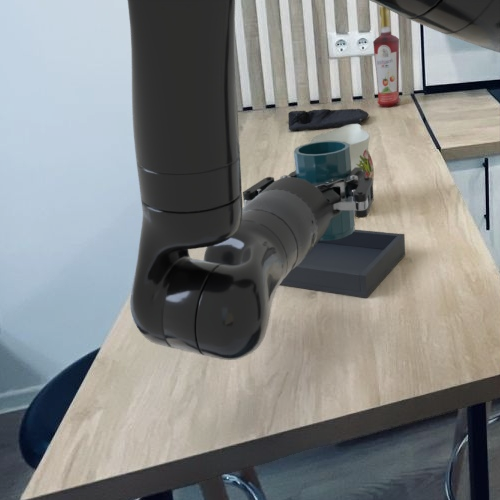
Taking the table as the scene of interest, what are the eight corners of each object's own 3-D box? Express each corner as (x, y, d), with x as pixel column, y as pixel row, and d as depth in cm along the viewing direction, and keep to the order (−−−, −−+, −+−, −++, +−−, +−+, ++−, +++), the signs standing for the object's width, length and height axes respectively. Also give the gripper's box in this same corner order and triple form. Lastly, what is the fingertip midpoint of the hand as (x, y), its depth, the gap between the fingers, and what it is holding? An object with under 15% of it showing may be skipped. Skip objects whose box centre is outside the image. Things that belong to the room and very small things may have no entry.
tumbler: (363, 223, 78) (358, 141, 75) (341, 242, 74) (335, 156, 70) (316, 219, 82) (309, 140, 78) (293, 237, 77) (284, 154, 73)
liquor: (403, 102, 199) (400, 4, 188) (398, 107, 193) (394, 6, 182) (379, 103, 202) (375, 7, 191) (373, 108, 196) (368, 9, 185)
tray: (405, 254, 97) (404, 234, 96) (366, 298, 86) (365, 275, 85) (300, 242, 106) (298, 224, 105) (253, 281, 95) (250, 260, 94)
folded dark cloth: (364, 128, 174) (363, 110, 173) (284, 132, 181) (282, 115, 179) (371, 115, 188) (370, 98, 186) (296, 120, 195) (295, 104, 193)
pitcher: (293, 228, 113) (285, 150, 107) (333, 194, 127) (327, 124, 122) (354, 233, 107) (348, 151, 102) (388, 196, 122) (384, 123, 116)
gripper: (349, 191, 59) (390, 142, 73) (207, 189, 65) (270, 145, 79) (354, 266, 62) (392, 206, 76) (218, 259, 68) (277, 204, 82)
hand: (330, 175), depth 77 cm, fingers closed on tumbler, 6 cm apart
